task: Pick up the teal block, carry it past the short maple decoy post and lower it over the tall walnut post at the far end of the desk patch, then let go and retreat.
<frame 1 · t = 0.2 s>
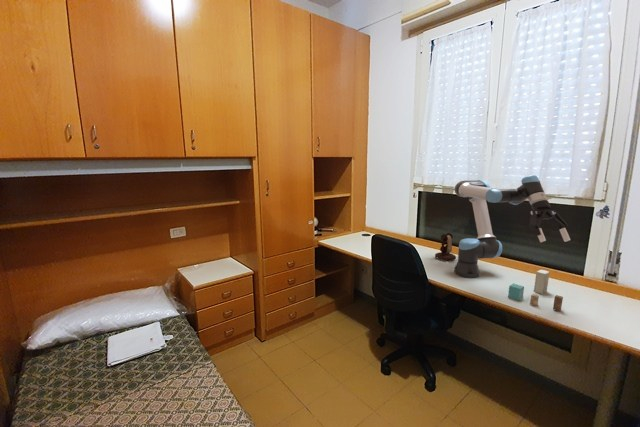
hand: (555, 241, 143), 35 cm above the table, tool tilted 35°, fingers open, 13 cm apart
brown statuette: (445, 259, 225), on the table
post: (556, 309, 147), on the table
teal block: (515, 297, 160), on the table
decoy post: (533, 304, 152), on the table
skincare box: (540, 291, 167), on the table
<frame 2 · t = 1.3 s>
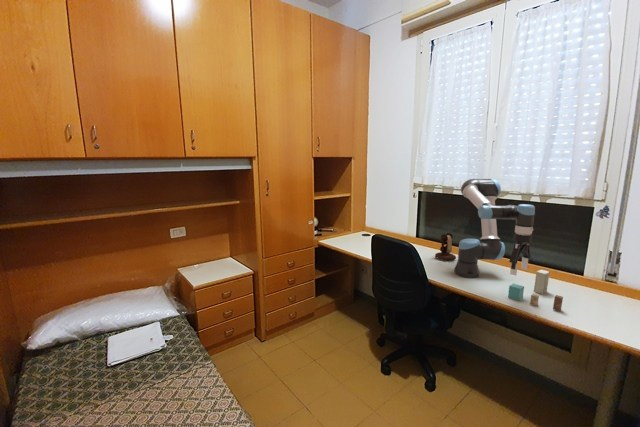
hand: (518, 271, 157), 15 cm above the table, tool pointing down, fingers open, 13 cm apart
nothing on the table moved.
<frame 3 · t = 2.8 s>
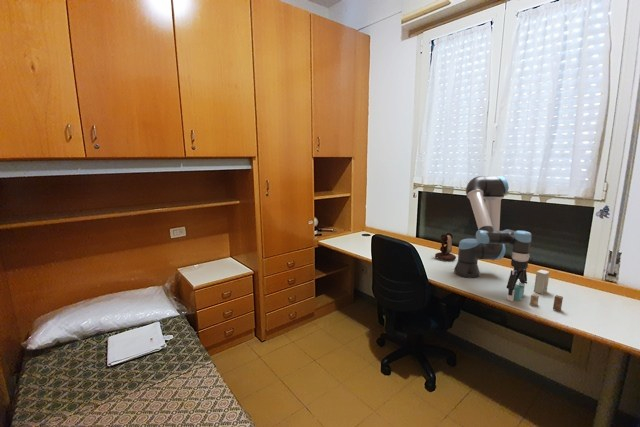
hand: (515, 297, 160), 0 cm above the table, tool pointing down, fingers open, 12 cm apart
nothing on the table moved.
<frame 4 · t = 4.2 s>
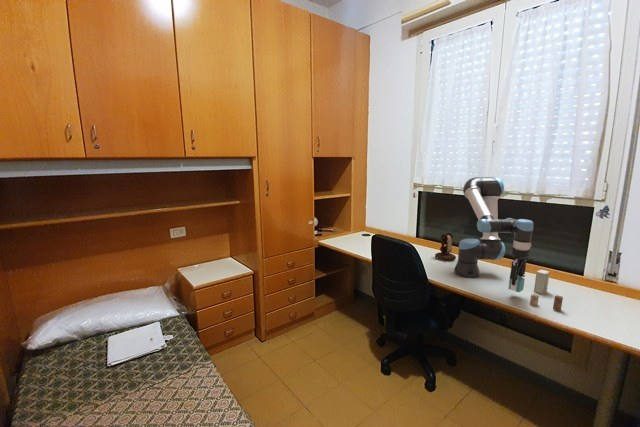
hand: (515, 288, 160), 5 cm above the table, tool pointing down, fingers closed on teal block, 5 cm apart
teal block: (515, 289, 160), point 4 cm above the table, touching gripper
everything else where it was.
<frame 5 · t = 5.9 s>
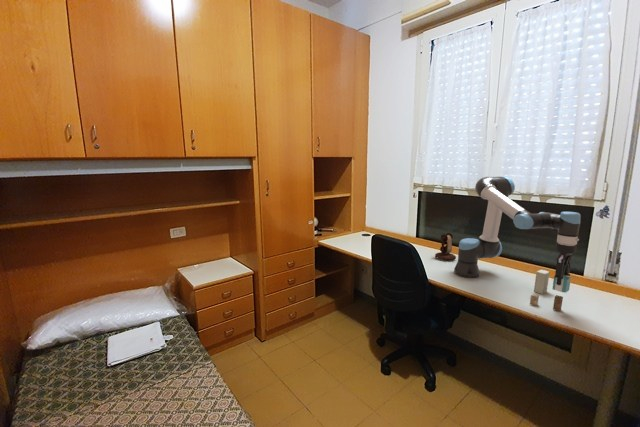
hand: (560, 289, 144), 11 cm above the table, tool pointing down, fingers closed on teal block, 5 cm apart
teal block: (560, 289, 144), point 11 cm above the table, touching gripper
everything else where it was.
when the fingers open (1 cm above the table, at t = 7.7 s): teal block stays where it is, resting on post.
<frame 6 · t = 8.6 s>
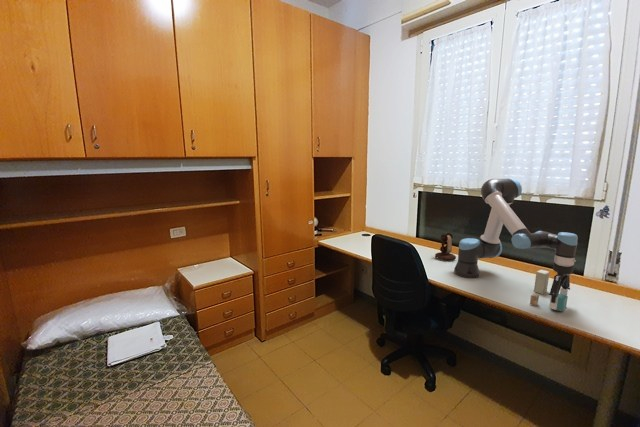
hand: (557, 304, 146), 3 cm above the table, tool pointing down, fingers open, 13 cm apart
teal block: (557, 307, 146), point 1 cm above the table, touching post
everything else where it was.
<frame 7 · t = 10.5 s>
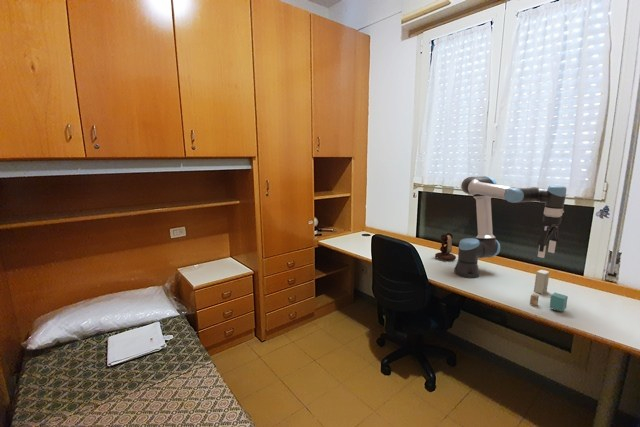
hand: (546, 254, 155), 25 cm above the table, tool pointing down, fingers open, 13 cm apart
nothing on the table moved.
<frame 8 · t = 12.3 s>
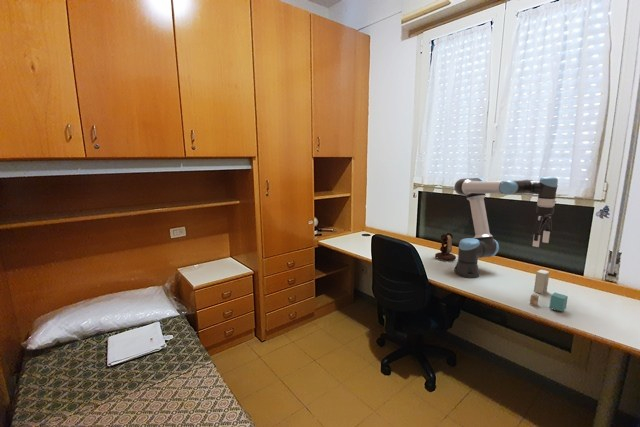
hand: (540, 244, 160), 29 cm above the table, tool pointing down, fingers open, 13 cm apart
nothing on the table moved.
at the end: teal block 0.2 cm from the post (horizontally); teal block point 1.0 cm above the table; the gripper is holding nothing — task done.
